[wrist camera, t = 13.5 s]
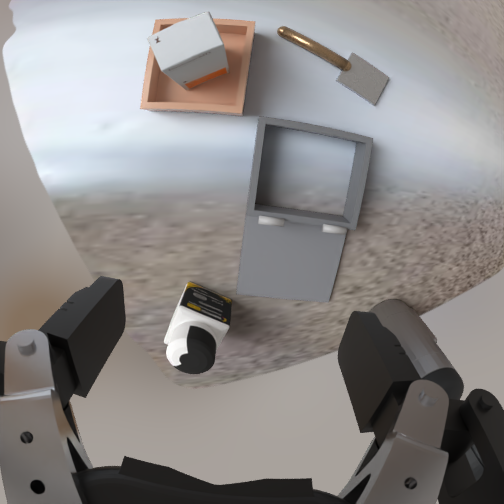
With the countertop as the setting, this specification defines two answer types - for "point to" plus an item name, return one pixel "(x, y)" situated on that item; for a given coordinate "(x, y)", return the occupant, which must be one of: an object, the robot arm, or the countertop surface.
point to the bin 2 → (297, 231)
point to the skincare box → (190, 51)
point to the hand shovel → (344, 67)
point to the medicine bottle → (197, 329)
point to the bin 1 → (213, 91)
